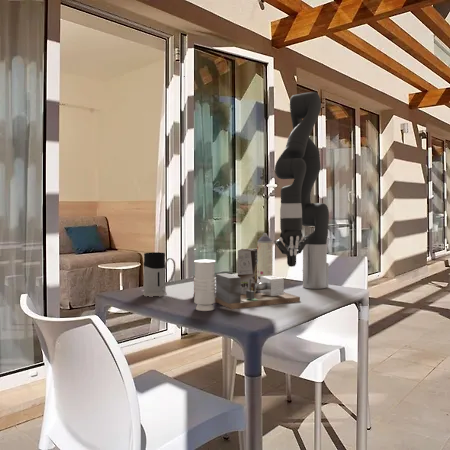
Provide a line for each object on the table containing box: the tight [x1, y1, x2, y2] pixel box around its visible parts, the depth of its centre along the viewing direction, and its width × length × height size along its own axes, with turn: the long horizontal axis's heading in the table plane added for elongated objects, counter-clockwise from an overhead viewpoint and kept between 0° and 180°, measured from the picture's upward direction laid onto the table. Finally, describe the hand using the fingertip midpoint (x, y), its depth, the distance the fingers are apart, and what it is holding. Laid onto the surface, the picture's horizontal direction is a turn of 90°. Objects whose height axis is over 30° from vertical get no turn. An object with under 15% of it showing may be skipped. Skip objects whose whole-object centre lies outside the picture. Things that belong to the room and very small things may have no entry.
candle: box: [193, 259, 216, 312], centre depth 141 cm, size 7×7×15 cm
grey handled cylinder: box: [142, 251, 176, 298], centre depth 163 cm, size 9×14×15 cm, turn 55°
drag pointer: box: [246, 279, 254, 299], centre depth 146 cm, size 1×3×6 cm, turn 26°
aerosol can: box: [256, 232, 274, 279], centre depth 204 cm, size 7×7×20 cm
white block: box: [255, 275, 285, 296], centre depth 153 cm, size 8×7×6 cm
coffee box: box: [237, 248, 258, 295], centre depth 168 cm, size 9×6×16 cm
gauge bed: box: [215, 272, 301, 310], centre depth 152 cm, size 26×12×10 cm, turn 116°
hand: (291, 266), depth 157 cm, fingers closed
